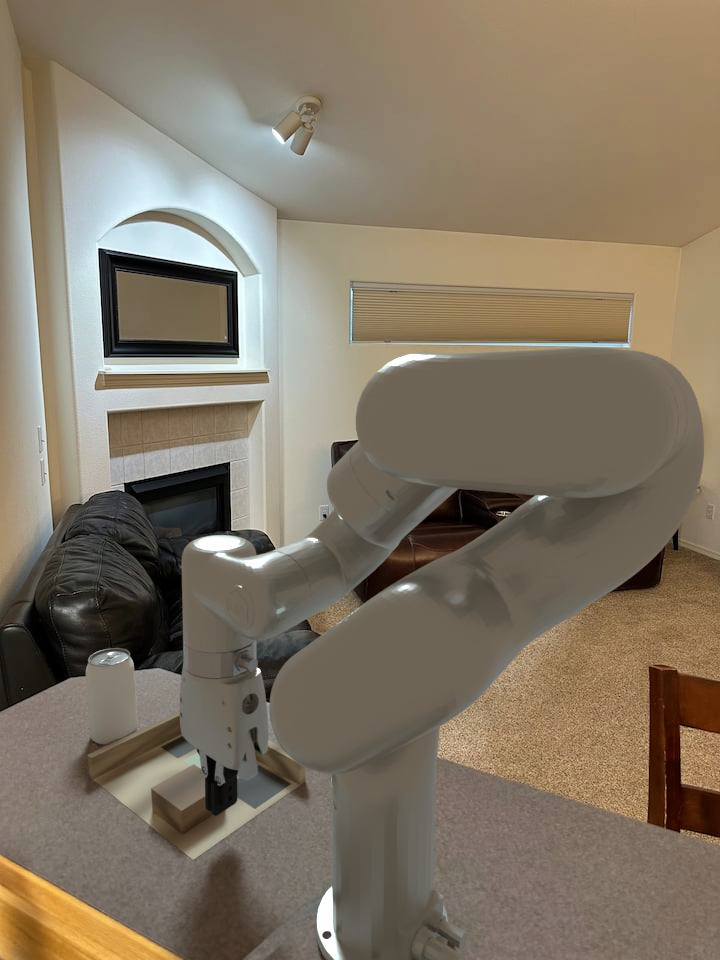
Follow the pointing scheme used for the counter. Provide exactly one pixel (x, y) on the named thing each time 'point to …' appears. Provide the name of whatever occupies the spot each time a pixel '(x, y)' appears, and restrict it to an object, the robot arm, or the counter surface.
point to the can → (111, 695)
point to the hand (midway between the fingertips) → (221, 805)
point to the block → (181, 799)
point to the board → (160, 756)
